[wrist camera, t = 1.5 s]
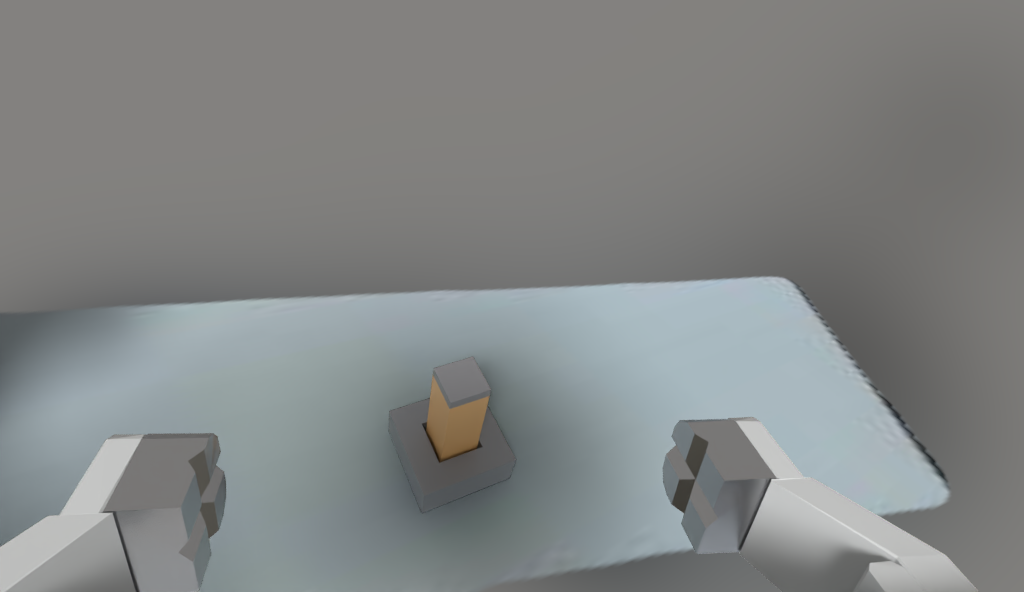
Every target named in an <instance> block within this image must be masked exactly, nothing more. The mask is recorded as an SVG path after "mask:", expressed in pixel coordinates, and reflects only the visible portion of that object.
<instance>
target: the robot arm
mask: <svg viewBox="0 0 1024 592" xmlns="http://www.w3.org/2000/svg"><path fill="white" fill-rule="evenodd" d="M672 438H673V440H674V442H675V444H676V446H675V447H674V448H673V449H672V450H670V451H669V452H668V453H667V454H666V457H665V461H664V465H663V483H664V487H665V491H666V494H667V496H668V498H669V500H670V502H671V504H672V505H673V506H675V507H676V508H677V509H679V510H680V511H681V512H683V513H684V515H683V519H682V523H681V524H682V526H683V528H684V530H685V532H686V534H687V536H688V538H689V540H690V542H691V544H692V546H693V548H694V550H695V552H696V553H697V554H704V553H726V552H740V555H741V556H742V557H743V558H745V560H747V561H748V562H749V563H750V564H751V565H752V566H753V567H754V568H756V569H757V570H758V571H759V572H760V573H761V574H763V575H764V576H765V577H766V578H767V579H768V580H769V581H770V582H772V583H773V584H774V585H775V586H776V587H777V588H778V589H780V590H781V591H782V592H979V591H978V590H977V589H976V588H975V587H974V586H973V585H972V583H971V582H970V581H969V580H968V579H967V578H966V577H965V576H964V575H963V574H962V572H961V571H959V569H958V568H957V567H956V566H955V565H954V564H953V563H952V562H951V560H949V558H948V557H947V556H946V555H944V554H943V553H941V552H939V551H938V550H936V549H934V548H933V547H931V546H929V545H927V544H926V543H924V542H922V541H920V540H919V539H917V538H915V537H914V536H912V535H910V534H908V533H907V532H905V531H903V530H901V529H900V528H898V527H896V526H894V525H893V524H891V523H889V522H888V521H886V520H884V519H883V518H881V517H879V516H877V515H876V514H874V513H872V512H870V511H869V510H867V509H865V508H864V507H862V506H860V505H858V504H857V503H855V502H853V501H851V500H850V499H848V498H846V497H845V496H843V495H841V494H839V493H838V492H836V491H834V490H833V489H831V488H829V487H827V486H826V485H824V484H822V483H820V482H819V481H817V480H815V479H814V478H804V477H803V475H802V474H801V473H800V471H799V470H798V469H797V468H796V466H795V465H794V464H793V463H792V461H791V460H790V459H789V457H788V456H787V455H786V454H785V452H784V451H783V450H782V449H781V447H780V446H779V445H778V444H777V442H776V441H775V440H774V438H773V437H772V436H771V435H770V433H769V432H768V431H767V430H766V428H765V427H764V426H763V425H762V423H761V422H760V421H759V420H757V419H755V418H754V417H744V418H728V419H705V420H680V421H679V422H678V423H677V424H676V426H675V428H674V431H673V434H672ZM220 452H221V451H220V446H219V441H218V436H216V435H215V434H213V433H203V434H148V435H113V436H111V437H110V438H108V439H107V440H106V441H105V442H104V443H103V445H102V447H101V448H100V450H99V451H98V453H97V455H96V456H95V458H94V460H93V461H92V463H91V464H90V466H89V468H88V469H87V471H86V472H85V474H84V476H83V477H82V479H81V481H80V482H79V484H78V485H77V487H76V489H75V490H74V492H73V493H72V495H71V497H70V498H69V500H68V502H67V503H66V505H65V506H64V508H63V510H62V511H61V513H60V515H54V516H47V517H45V518H44V519H42V520H41V521H39V522H38V523H36V524H35V525H33V526H32V527H30V528H29V529H27V530H26V531H24V532H22V533H21V534H19V535H18V536H16V537H15V538H13V539H12V540H10V541H9V542H7V543H6V544H4V545H2V546H1V547H0V592H195V591H199V590H200V587H201V584H202V581H203V578H204V575H205V572H206V569H207V566H208V563H209V560H210V557H211V549H210V543H209V538H210V537H211V536H213V535H214V534H215V533H216V532H217V531H218V530H219V528H220V525H221V521H222V518H223V514H224V507H225V500H226V481H225V475H224V471H222V470H221V469H220V468H219V467H218V466H216V464H217V461H218V458H219V455H220Z"/></svg>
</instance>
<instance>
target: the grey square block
mask: <svg viewBox="0 0 1024 592" xmlns="http://www.w3.org/2000/svg"><path fill="white" fill-rule="evenodd" d="M429 403H430V398H429V399H425V400H422V401H419V402H416V403H413V404H410V405H407V406H403V407H400V408H397V409H394V410H391V411H389V430H388V431H389V433H390V436H391V438H392V441H393V443H394V446H395V448H396V451H397V453H398V456H399V458H400V461H401V463H402V466H403V468H404V471H405V473H406V476H407V478H408V481H409V483H410V486H411V488H412V491H413V493H414V496H415V498H416V501H417V503H418V505H419V508H420V510H421V513H424V512H427V511H429V510H432V509H434V508H437V507H439V506H441V505H444V504H446V503H449V502H451V501H454V500H456V499H459V498H461V497H464V496H466V495H469V494H471V493H474V492H476V491H479V490H481V489H484V488H486V487H489V486H491V485H494V484H496V483H499V482H501V481H504V480H506V479H509V478H510V476H511V473H512V471H513V468H514V465H515V462H516V458H515V456H514V454H513V453H512V451H511V449H510V447H509V445H508V443H507V441H506V439H505V437H504V436H503V434H502V432H501V430H500V428H499V426H498V424H497V422H496V421H495V419H494V417H493V415H492V413H491V411H490V409H489V407H488V405H487V409H486V413H485V417H484V421H483V425H482V429H481V433H480V437H479V441H478V445H477V449H476V450H473V451H470V452H468V453H465V454H462V455H459V456H457V457H454V458H451V459H449V460H446V461H443V462H440V463H439V461H438V459H437V457H436V455H435V452H434V450H433V448H432V446H431V443H430V441H429V439H428V437H427V434H426V427H427V419H428V411H429Z"/></svg>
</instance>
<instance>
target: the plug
mask: <svg viewBox="0 0 1024 592" xmlns="http://www.w3.org/2000/svg"><path fill="white" fill-rule="evenodd" d="M490 393H491V388H490V386H489V384H488V383H487V381H486V379H485V377H484V375H483V374H482V372H481V370H480V368H479V366H478V364H477V363H476V361H475V359H474V357H470V358H466V359H463V360H460V361H456V362H453V363H449V364H446V365H443V366H439V367H436V368H434V370H433V378H432V386H431V394H430V403H429V411H428V419H427V427H426V434H427V437H428V439H429V441H430V443H431V446H432V448H433V450H434V452H435V455H436V457H437V459H438V461H439V463H440V462H443V461H446V460H449V459H451V458H454V457H457V456H459V455H462V454H465V453H468V452H470V451H473V450H476V449H477V445H478V441H479V437H480V433H481V429H482V425H483V421H484V417H485V413H486V409H487V405H488V401H489V397H490Z"/></svg>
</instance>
